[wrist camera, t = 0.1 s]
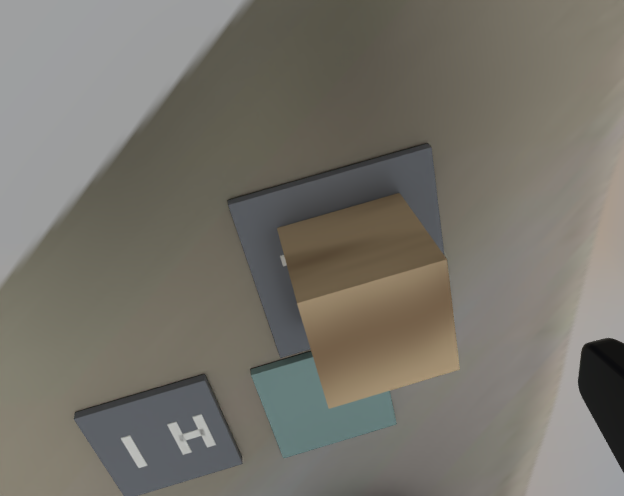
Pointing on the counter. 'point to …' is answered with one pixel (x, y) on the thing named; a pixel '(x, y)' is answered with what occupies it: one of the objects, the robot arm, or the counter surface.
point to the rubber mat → (313, 407)
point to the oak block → (371, 298)
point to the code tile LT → (315, 202)
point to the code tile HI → (160, 436)
